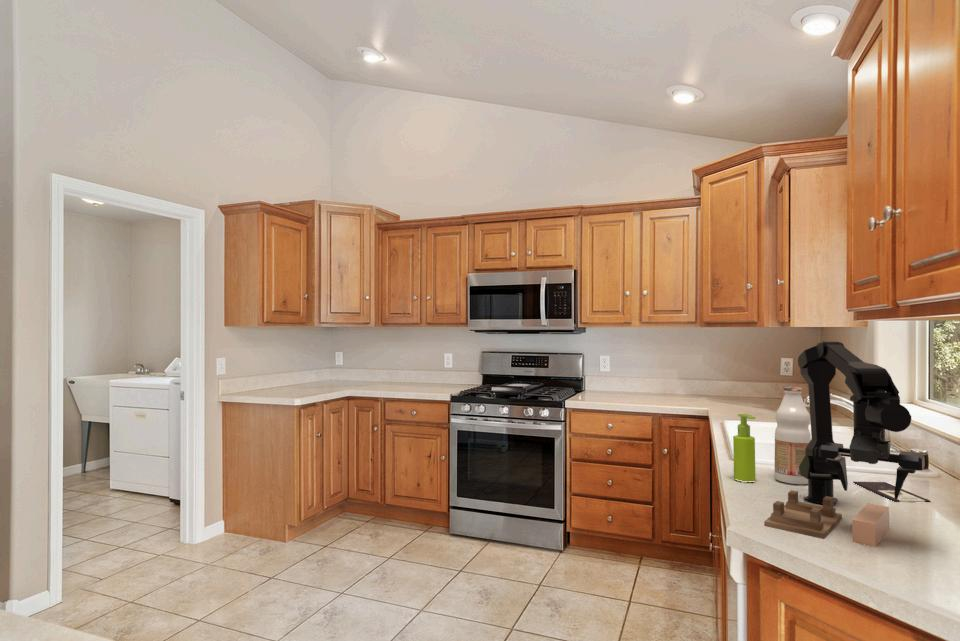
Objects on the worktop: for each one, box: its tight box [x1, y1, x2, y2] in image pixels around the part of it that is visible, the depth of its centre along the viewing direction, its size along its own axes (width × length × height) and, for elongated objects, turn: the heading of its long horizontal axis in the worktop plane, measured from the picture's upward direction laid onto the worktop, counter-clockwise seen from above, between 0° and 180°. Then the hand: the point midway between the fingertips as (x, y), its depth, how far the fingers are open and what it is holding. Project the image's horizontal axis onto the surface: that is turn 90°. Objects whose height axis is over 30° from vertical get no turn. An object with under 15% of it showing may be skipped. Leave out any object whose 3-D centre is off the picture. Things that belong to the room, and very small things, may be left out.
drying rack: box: [763, 490, 843, 539], centre depth 130 cm, size 18×12×5 cm, turn 136°
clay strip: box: [851, 502, 890, 548], centre depth 122 cm, size 16×4×5 cm, turn 135°
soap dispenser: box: [732, 413, 756, 482], centre depth 166 cm, size 6×7×20 cm
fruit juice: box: [774, 386, 812, 485], centre depth 166 cm, size 9×9×28 cm
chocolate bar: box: [852, 481, 931, 503], centre depth 154 cm, size 9×1×18 cm
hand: (870, 494), depth 122 cm, fingers open, 9 cm apart
